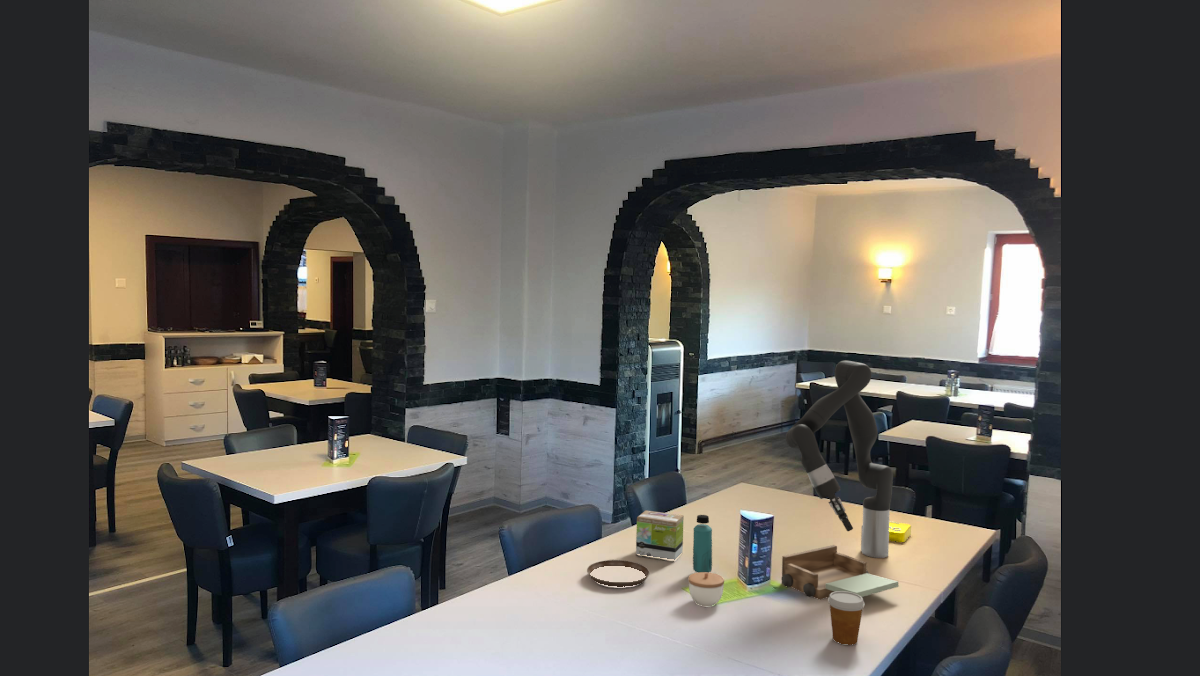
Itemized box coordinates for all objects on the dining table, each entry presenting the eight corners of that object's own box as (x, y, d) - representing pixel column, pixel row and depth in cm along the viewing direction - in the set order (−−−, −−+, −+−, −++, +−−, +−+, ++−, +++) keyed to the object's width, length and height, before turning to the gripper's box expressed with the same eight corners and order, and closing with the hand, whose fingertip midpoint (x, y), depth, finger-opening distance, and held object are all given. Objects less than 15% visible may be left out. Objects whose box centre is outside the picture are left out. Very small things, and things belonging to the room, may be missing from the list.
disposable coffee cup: (821, 633, 211) (822, 590, 211) (854, 632, 212) (855, 590, 211) (834, 648, 202) (836, 604, 201) (869, 647, 202) (870, 603, 202)
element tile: (911, 535, 306) (912, 523, 306) (903, 544, 293) (904, 532, 293) (873, 528, 314) (873, 517, 314) (863, 537, 301) (864, 525, 301)
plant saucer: (662, 580, 251) (662, 570, 251) (620, 597, 236) (620, 586, 236) (615, 564, 265) (615, 555, 265) (573, 580, 250) (573, 570, 250)
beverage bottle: (711, 578, 253) (712, 518, 252) (691, 576, 254) (692, 517, 253) (712, 571, 259) (713, 513, 258) (692, 570, 260) (694, 512, 259)
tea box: (635, 557, 273) (635, 516, 273) (644, 548, 283) (644, 509, 282) (675, 562, 268) (676, 521, 267) (683, 554, 277) (684, 514, 276)
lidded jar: (701, 612, 224) (702, 581, 224) (681, 600, 234) (681, 570, 233) (730, 606, 229) (731, 575, 229) (709, 594, 239) (710, 564, 238)
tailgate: (825, 583, 236) (856, 592, 226) (866, 573, 246) (898, 581, 236) (825, 590, 236) (856, 600, 226) (867, 580, 246) (898, 588, 236)
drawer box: (779, 583, 248) (779, 556, 248) (835, 570, 262) (836, 544, 262) (816, 600, 235) (817, 571, 234) (873, 585, 248) (874, 557, 248)
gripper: (834, 476, 244) (862, 527, 240) (833, 475, 257) (859, 523, 253) (813, 487, 246) (840, 537, 241) (813, 485, 258) (839, 533, 254)
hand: (850, 530), depth 247 cm, fingers closed
